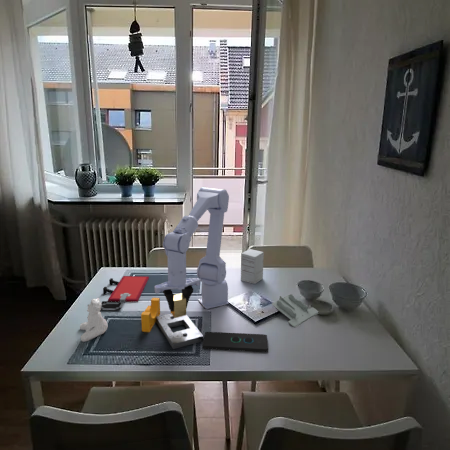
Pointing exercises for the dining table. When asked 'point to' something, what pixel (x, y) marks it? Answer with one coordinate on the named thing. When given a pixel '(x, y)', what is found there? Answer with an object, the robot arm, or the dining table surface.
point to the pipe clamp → (150, 315)
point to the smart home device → (235, 342)
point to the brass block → (179, 306)
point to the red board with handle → (124, 291)
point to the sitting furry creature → (93, 322)
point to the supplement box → (252, 266)
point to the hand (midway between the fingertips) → (178, 308)
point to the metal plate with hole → (179, 337)
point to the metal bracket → (294, 310)
